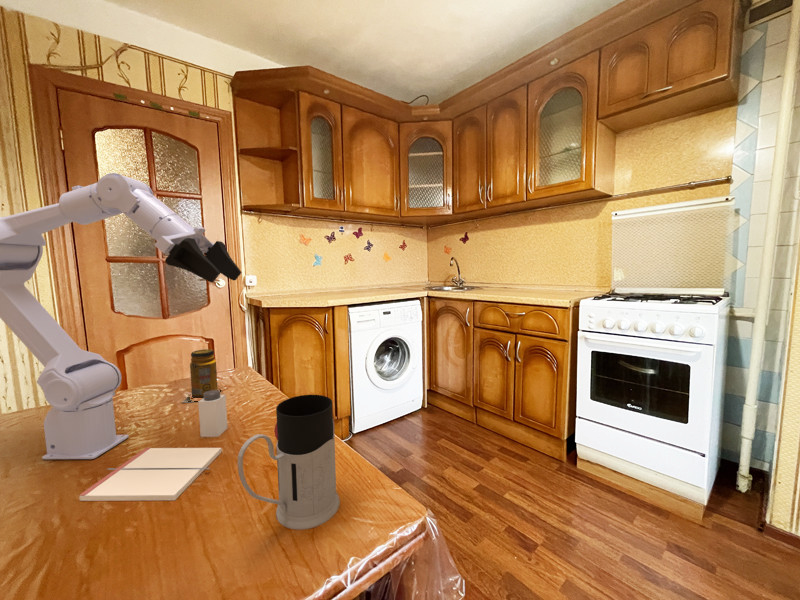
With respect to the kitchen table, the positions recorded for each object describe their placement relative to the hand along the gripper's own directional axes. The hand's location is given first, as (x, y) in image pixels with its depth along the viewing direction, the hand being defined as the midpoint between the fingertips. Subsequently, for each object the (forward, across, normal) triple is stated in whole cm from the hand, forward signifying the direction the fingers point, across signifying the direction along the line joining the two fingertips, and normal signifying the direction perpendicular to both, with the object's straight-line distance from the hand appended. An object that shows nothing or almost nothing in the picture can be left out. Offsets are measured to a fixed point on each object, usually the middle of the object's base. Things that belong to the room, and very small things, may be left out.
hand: (227, 277), depth 61 cm
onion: (+29, 0, +18) cm, 34 cm away
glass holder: (+34, -18, +14) cm, 41 cm away
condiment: (+5, +26, +39) cm, 47 cm away
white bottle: (+15, +6, +30) cm, 34 cm away
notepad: (+14, -8, +30) cm, 34 cm away
